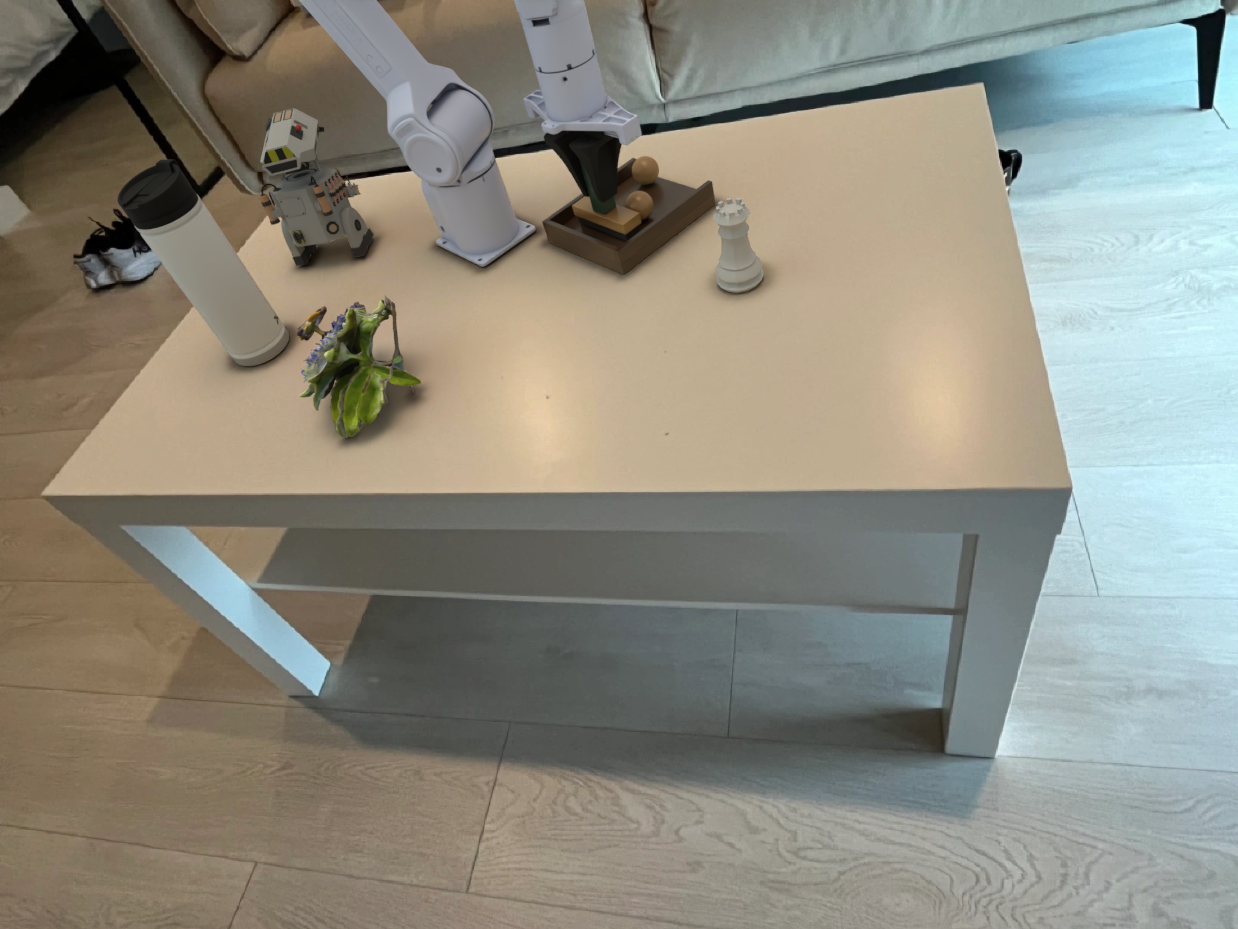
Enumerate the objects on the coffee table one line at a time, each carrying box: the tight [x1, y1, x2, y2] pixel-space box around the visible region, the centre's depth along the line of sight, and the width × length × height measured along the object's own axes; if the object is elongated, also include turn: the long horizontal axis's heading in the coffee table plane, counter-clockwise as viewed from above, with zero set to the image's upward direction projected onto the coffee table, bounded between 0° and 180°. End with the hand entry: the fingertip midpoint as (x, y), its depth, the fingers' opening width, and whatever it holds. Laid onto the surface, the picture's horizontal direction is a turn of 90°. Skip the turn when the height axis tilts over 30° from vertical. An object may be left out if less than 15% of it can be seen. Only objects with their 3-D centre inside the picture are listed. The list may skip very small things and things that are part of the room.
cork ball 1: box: [632, 155, 660, 185], centre depth 89 cm, size 3×3×3 cm
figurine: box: [258, 107, 375, 267], centre depth 94 cm, size 9×12×15 cm
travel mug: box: [117, 158, 290, 367], centre depth 80 cm, size 6×7×20 cm
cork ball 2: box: [625, 191, 654, 221], centre depth 85 cm, size 3×3×3 cm
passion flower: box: [295, 295, 422, 439], centre depth 75 cm, size 11×11×12 cm
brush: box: [572, 159, 642, 241], centre depth 83 cm, size 8×2×8 cm, turn 44°
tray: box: [541, 157, 716, 275], centre depth 87 cm, size 12×14×3 cm
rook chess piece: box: [712, 196, 764, 294], centre depth 74 cm, size 4×4×8 cm
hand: (600, 194), depth 83 cm, fingers closed on brush, 2 cm apart
